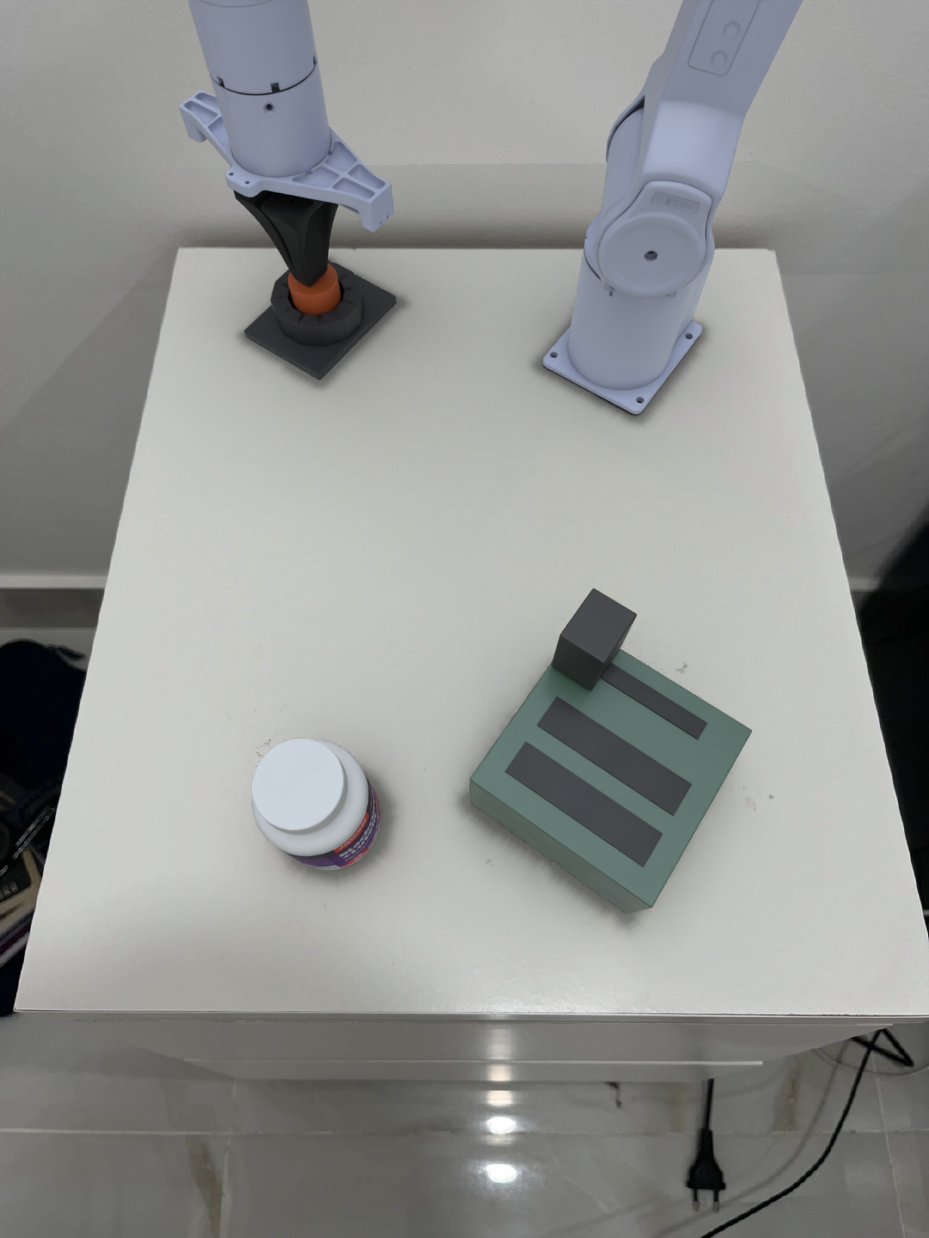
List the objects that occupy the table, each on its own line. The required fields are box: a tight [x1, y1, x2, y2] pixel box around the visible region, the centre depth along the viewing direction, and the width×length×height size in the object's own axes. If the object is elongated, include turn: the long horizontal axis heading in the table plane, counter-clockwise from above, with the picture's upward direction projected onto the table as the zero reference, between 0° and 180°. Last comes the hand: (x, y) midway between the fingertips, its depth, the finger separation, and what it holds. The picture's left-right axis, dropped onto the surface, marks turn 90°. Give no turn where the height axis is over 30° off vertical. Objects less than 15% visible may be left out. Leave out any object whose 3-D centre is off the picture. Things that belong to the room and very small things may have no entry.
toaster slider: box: [550, 588, 638, 691], centre depth 37 cm, size 3×2×4 cm
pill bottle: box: [251, 737, 382, 871], centre depth 37 cm, size 5×5×10 cm
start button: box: [288, 264, 341, 315], centre depth 53 cm, size 3×3×2 cm
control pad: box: [243, 259, 397, 381], centre depth 55 cm, size 9×7×2 cm
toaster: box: [469, 648, 753, 915], centre depth 39 cm, size 10×10×6 cm
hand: (311, 274), depth 52 cm, fingers closed
